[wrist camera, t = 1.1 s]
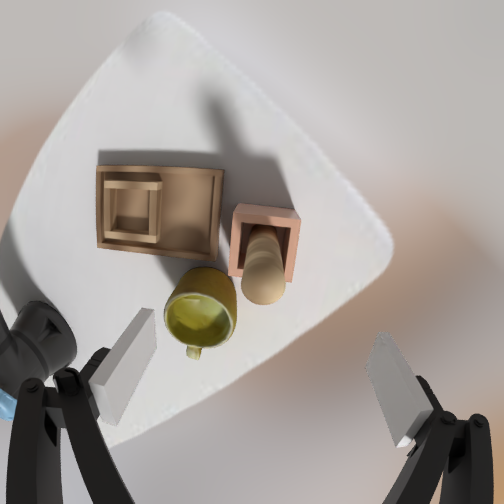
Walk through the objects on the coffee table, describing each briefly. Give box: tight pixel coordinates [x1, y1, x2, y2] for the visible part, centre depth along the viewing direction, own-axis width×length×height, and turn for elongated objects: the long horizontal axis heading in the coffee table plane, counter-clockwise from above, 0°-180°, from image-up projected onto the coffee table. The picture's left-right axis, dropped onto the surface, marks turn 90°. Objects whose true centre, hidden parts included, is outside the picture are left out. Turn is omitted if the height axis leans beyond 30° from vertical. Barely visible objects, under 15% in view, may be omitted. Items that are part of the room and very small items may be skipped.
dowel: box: [241, 224, 286, 305], centre depth 31 cm, size 4×4×16 cm
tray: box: [96, 165, 224, 262], centre depth 38 cm, size 18×12×3 cm, turn 84°
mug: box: [164, 267, 237, 360], centre depth 40 cm, size 12×10×10 cm
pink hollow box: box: [228, 203, 301, 282], centre depth 37 cm, size 8×8×7 cm
